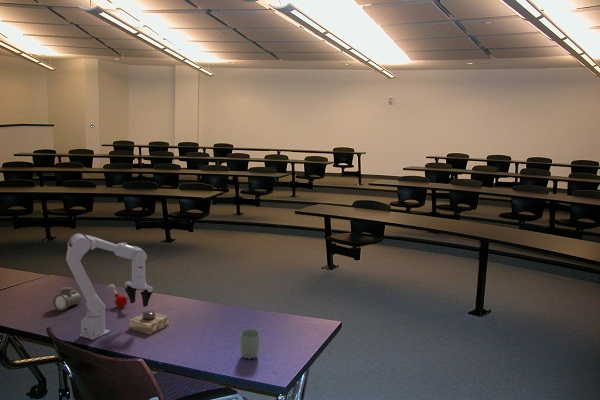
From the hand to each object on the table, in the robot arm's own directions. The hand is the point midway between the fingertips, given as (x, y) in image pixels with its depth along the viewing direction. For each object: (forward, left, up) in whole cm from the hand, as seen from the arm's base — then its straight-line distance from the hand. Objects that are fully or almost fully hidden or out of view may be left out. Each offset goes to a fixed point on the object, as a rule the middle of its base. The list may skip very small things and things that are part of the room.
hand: (139, 304), depth 236 cm
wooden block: (+1, -5, -10) cm, 11 cm away
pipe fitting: (-1, +44, -10) cm, 45 cm away
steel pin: (+1, -5, -9) cm, 11 cm away
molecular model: (+12, +23, -10) cm, 28 cm away
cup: (-1, -59, -10) cm, 60 cm away
